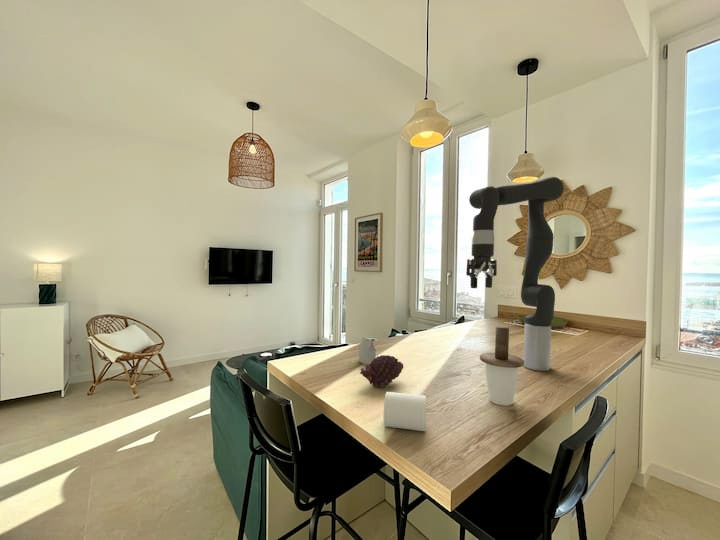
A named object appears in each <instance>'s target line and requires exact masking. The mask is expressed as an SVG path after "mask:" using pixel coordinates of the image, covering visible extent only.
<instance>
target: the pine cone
mask: <svg viewBox="0 0 720 540" xmlns="http://www.w3.org/2000/svg"><path fill="white" fill-rule="evenodd" d="M403 369H404V363H402V362H401V361H399V359H398V358H396V357H395V356H394V355H393V356H392V355H389V354H388V355H383V354H382V355H380V356H379V355H378V356H376V357H375V358H374V359H373V361H371V364H366V365H365V367H362V368H360V372H359V374H360V375H362V377H364V378H365V379H367V381H368V382H369V384H370V385H373V386H374V387H377V388H383V387H384V386H388V384H391V383H392V382H393V380H395V379H396V378H399V376H400V374H401V373H402V371H403Z"/></svg>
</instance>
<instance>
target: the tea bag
mask: <svg viewBox="0 0 720 540" xmlns="http://www.w3.org/2000/svg"><path fill="white" fill-rule="evenodd" d="M376 352H377V351H376V348H375V345H374V341H373V339H371V338H369V337H366V336H362V339H361V342H360V345H359V347H358V362H359V363H361V364H363V365H364V366H366V364H371V361H373V359H374V358H376V357H377V356H376V355H377V353H376Z"/></svg>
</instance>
